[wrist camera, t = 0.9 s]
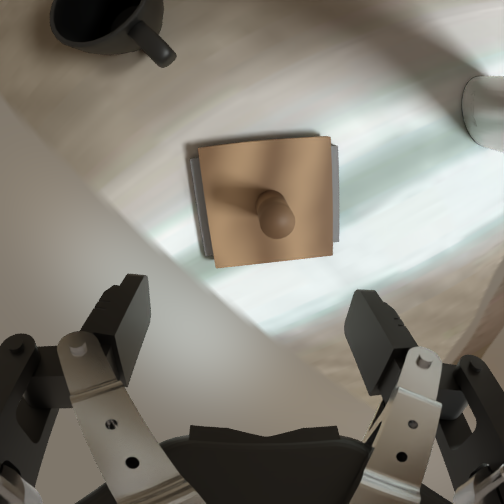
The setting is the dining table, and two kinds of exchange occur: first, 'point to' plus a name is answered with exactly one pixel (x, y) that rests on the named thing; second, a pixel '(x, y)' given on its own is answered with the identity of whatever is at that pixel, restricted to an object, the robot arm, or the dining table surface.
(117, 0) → the mug
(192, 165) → the mat
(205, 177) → the lid
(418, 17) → the dining table surface
